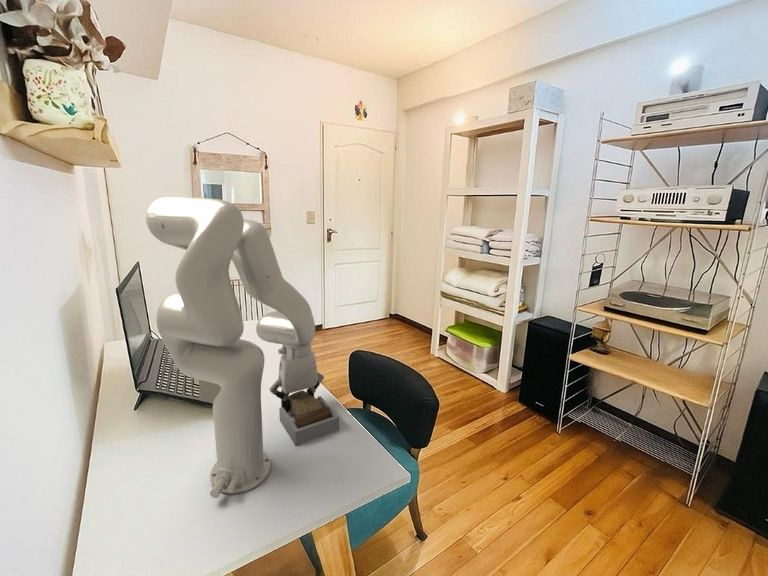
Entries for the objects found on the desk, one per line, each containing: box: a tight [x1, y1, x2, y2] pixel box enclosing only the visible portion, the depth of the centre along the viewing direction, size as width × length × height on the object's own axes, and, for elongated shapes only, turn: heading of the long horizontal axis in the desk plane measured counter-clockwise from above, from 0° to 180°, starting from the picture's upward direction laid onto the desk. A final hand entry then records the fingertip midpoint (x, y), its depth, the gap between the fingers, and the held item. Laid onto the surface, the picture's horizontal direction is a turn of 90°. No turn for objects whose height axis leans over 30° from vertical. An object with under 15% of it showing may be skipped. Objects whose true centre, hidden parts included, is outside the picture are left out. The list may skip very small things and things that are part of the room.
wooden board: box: [293, 406, 330, 428], centre depth 95 cm, size 1×10×5 cm, turn 125°
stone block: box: [287, 390, 325, 417], centre depth 101 cm, size 6×12×5 cm, turn 50°
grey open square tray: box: [278, 395, 341, 447], centre depth 97 cm, size 12×12×4 cm
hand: (298, 406), depth 103 cm, fingers closed on stone block, 6 cm apart
